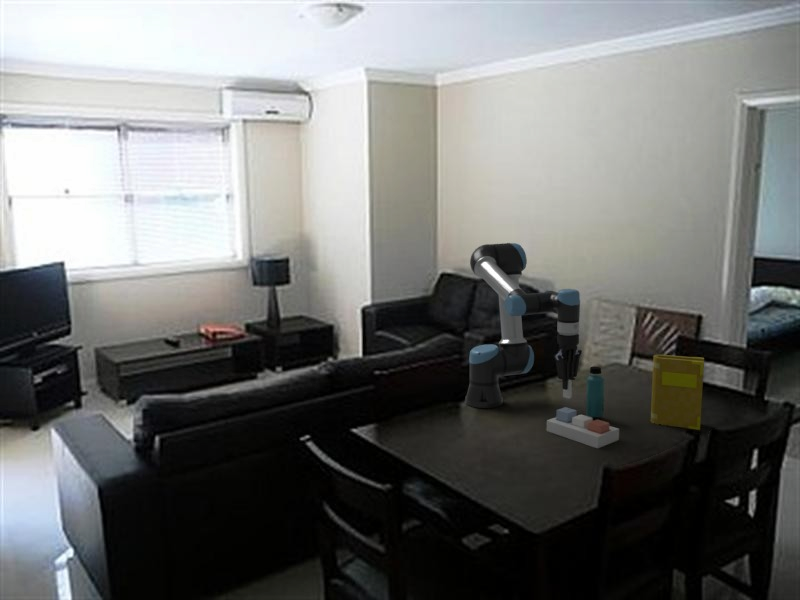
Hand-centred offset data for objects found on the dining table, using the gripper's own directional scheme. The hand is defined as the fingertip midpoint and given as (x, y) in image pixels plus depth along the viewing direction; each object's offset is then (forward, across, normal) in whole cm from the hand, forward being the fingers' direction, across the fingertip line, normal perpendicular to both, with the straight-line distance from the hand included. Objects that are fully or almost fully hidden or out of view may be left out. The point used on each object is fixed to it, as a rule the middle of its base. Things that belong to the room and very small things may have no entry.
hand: (567, 397), depth 247 cm
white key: (+11, 0, -7) cm, 13 cm away
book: (+13, +35, -22) cm, 43 cm away
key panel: (+12, 0, -7) cm, 14 cm away
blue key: (+10, 0, 0) cm, 10 cm away
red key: (+11, 0, -14) cm, 18 cm away
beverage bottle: (+13, +18, +1) cm, 22 cm away
